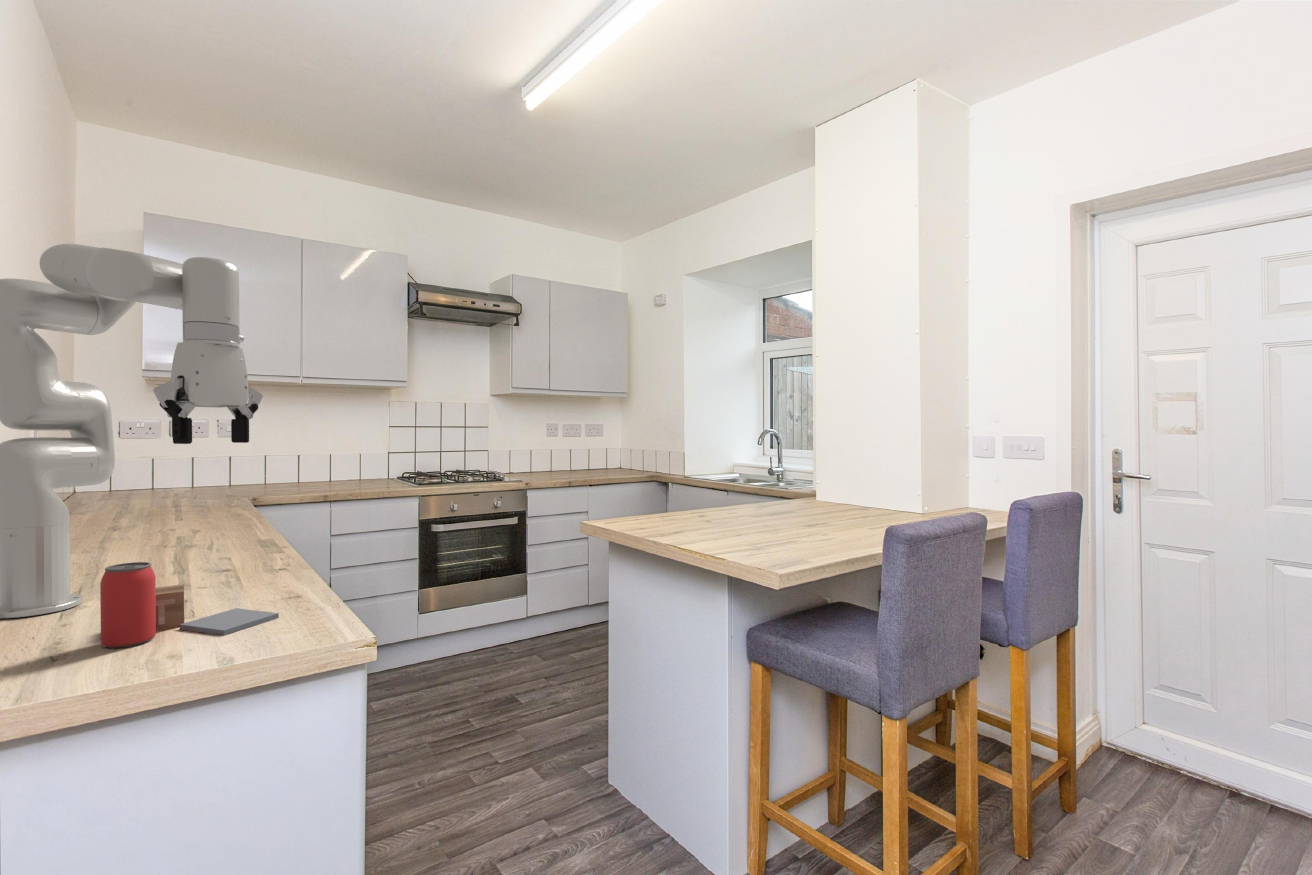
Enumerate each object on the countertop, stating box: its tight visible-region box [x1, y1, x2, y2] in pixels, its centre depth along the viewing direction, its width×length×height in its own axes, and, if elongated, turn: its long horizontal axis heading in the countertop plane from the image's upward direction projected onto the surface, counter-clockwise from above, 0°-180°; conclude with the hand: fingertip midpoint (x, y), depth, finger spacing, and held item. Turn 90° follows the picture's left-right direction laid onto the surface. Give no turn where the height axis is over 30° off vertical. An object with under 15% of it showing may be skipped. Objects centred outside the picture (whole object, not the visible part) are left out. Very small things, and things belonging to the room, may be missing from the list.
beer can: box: [99, 561, 157, 649], centre depth 98 cm, size 7×7×12 cm
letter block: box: [156, 583, 185, 631], centre depth 107 cm, size 6×6×6 cm
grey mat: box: [179, 607, 279, 636], centre depth 108 cm, size 10×10×1 cm
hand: (212, 443), depth 101 cm, fingers open, 9 cm apart
